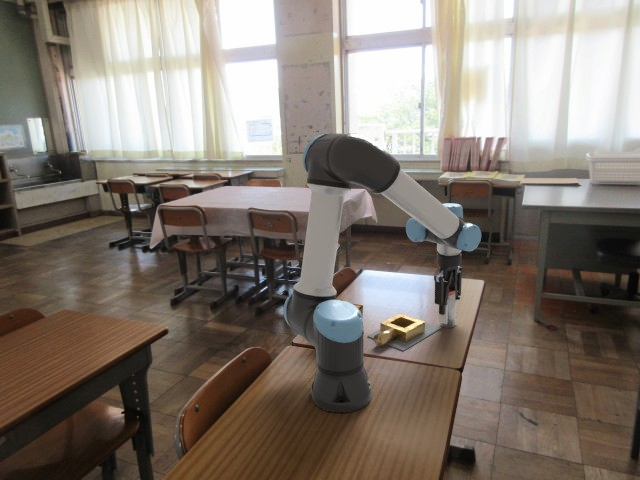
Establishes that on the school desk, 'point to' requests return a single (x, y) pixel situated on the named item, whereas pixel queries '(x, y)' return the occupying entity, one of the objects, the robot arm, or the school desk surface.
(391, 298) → the school desk surface
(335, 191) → the robot arm
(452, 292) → the copper-capped silver cylinder
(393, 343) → the mat
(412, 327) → the fitting socket
